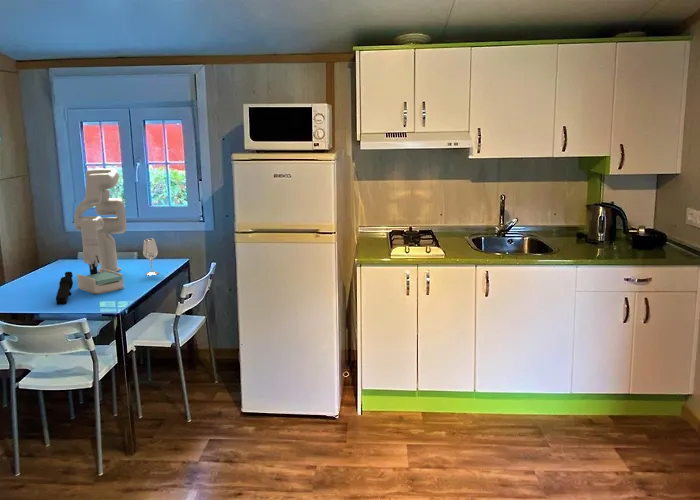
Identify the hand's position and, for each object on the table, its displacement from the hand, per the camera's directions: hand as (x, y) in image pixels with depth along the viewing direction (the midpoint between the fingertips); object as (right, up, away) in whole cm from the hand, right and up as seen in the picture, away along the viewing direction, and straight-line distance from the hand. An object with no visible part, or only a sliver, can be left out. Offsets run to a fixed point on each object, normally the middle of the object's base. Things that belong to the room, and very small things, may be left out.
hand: (94, 276), depth 319 cm
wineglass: (+22, 0, +26) cm, 35 cm away
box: (+5, -6, -3) cm, 9 cm away
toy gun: (-5, -10, -20) cm, 23 cm away
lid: (+7, -2, -6) cm, 10 cm away
